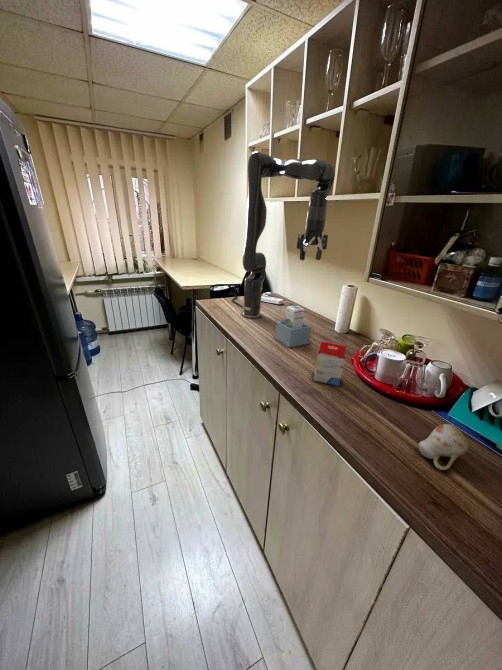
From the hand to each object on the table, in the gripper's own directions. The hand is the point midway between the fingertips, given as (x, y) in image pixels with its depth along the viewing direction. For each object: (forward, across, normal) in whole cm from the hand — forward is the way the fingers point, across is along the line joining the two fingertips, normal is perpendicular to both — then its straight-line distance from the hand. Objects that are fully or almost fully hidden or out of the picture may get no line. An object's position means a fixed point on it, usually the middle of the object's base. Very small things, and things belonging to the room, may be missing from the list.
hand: (310, 259), depth 116 cm
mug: (+34, +15, +73) cm, 82 cm away
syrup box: (+33, +9, +6) cm, 35 cm away
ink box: (+34, +17, +37) cm, 53 cm away
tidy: (+34, +9, +6) cm, 36 cm away
